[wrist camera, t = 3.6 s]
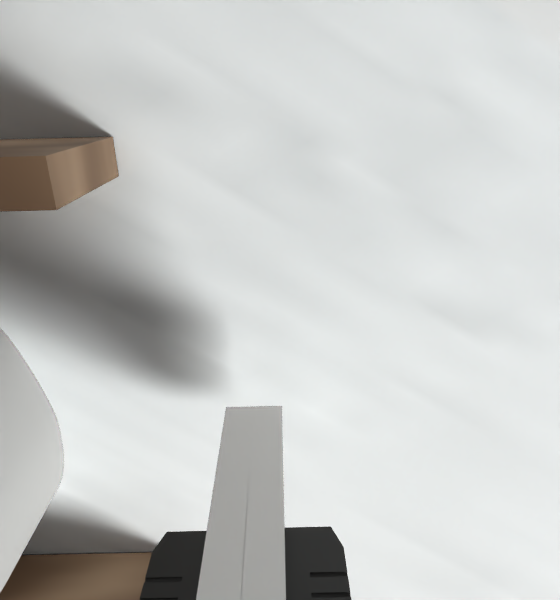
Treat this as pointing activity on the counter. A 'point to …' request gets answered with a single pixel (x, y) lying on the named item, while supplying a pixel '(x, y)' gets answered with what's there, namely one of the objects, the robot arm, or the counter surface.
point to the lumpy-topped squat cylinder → (24, 455)
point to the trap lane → (51, 196)
